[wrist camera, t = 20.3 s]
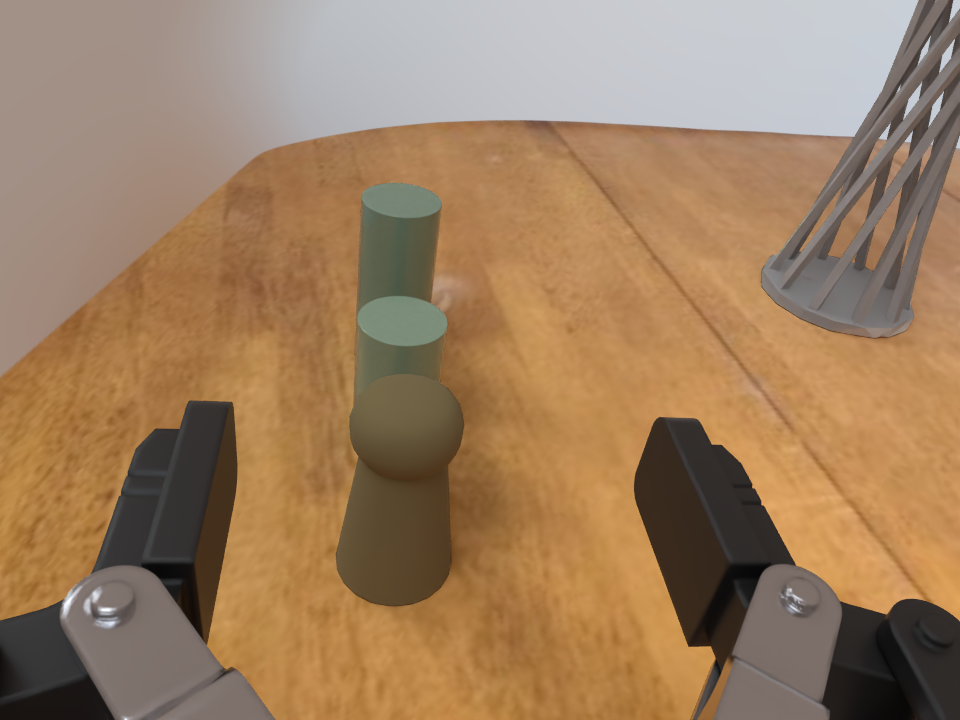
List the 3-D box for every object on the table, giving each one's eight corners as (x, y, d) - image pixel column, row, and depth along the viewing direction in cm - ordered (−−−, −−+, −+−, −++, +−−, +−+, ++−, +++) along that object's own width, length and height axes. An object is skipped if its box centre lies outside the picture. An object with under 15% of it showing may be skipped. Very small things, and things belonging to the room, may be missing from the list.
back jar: (353, 374, 53) (360, 214, 46) (355, 333, 57) (361, 180, 50) (426, 377, 54) (444, 220, 47) (423, 336, 57) (439, 185, 50)
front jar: (350, 468, 46) (356, 343, 40) (352, 412, 49) (358, 293, 44) (435, 469, 46) (451, 347, 41) (430, 415, 50) (444, 297, 45)
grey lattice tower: (911, 356, 64) (1192, -138, 44) (751, 305, 68) (943, -175, 47) (906, 287, 75) (1130, -137, 55) (768, 246, 78) (930, -168, 58)
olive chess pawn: (403, 627, 37) (423, 462, 31) (310, 563, 40) (311, 397, 33) (473, 551, 42) (503, 393, 35) (385, 497, 44) (399, 339, 38)
